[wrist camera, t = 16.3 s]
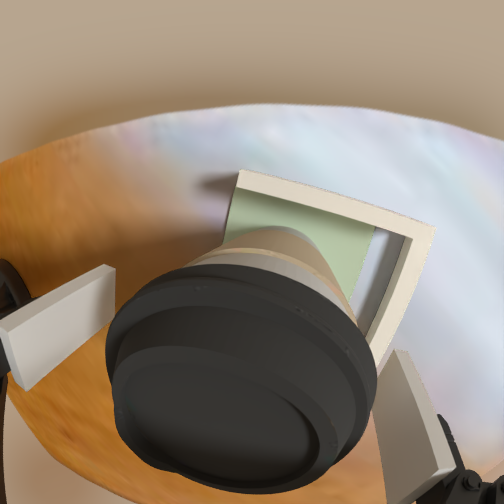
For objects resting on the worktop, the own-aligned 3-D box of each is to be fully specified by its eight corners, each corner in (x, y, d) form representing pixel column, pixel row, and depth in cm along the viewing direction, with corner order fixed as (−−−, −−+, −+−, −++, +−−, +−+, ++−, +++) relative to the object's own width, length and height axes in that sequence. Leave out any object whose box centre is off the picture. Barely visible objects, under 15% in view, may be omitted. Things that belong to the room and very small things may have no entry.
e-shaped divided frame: (200, 417, 26) (187, 443, 22) (254, 171, 19) (240, 169, 15) (315, 448, 25) (313, 476, 21) (428, 224, 17) (452, 235, 13)
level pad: (208, 315, 22) (208, 316, 22) (236, 185, 19) (235, 185, 19) (328, 350, 21) (327, 351, 21) (375, 224, 18) (375, 224, 18)
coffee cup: (312, 188, 18) (326, 223, 4) (358, 305, 20) (402, 492, 5) (197, 240, 21) (32, 343, 7) (249, 342, 22) (178, 507, 8)
